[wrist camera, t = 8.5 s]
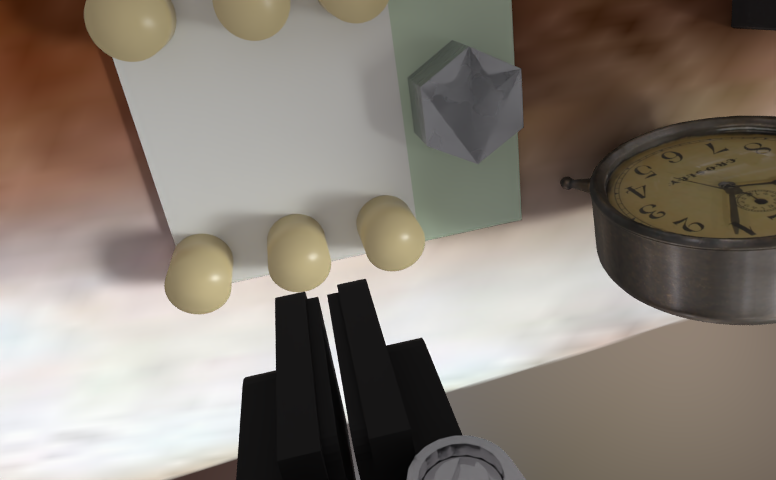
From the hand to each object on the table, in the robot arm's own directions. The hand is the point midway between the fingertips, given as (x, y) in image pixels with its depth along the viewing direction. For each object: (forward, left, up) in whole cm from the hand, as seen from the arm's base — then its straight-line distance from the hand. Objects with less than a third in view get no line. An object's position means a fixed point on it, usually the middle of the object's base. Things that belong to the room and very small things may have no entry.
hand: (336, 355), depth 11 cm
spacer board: (-2, 0, -18) cm, 18 cm away
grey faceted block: (-8, 0, -18) cm, 19 cm away
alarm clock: (-18, +6, -18) cm, 26 cm away
